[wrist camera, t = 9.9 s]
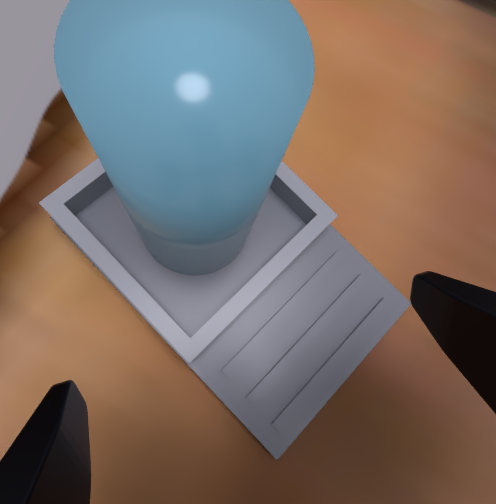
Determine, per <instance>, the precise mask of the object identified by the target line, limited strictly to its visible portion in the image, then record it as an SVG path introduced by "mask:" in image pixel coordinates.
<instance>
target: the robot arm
mask: <svg viewBox="0 0 496 504" xmlns="http://www.w3.org/2000/svg"><path fill="white" fill-rule="evenodd" d="M410 300H411V304H412V306H413V308H414V309H415V311H416V312H417V314H418V315H419V317H420V318H421V319H422V321H423V322H424V324H425V325H426V327H427V328H428V330H429V331H430V333H431V334H432V336H433V337H434V339H435V340H436V342H437V343H438V344H439V346H440V347H441V349H442V350H443V351H444V353H445V354H446V355H447V356H448V358H449V359H450V360H451V361H452V362H453V364H454V365H455V366H456V367H457V368H458V370H459V371H460V372H461V373H462V374H463V376H464V377H465V378H466V379H467V380H468V382H469V383H470V384H471V385H472V386H473V387H474V389H475V390H476V391H477V392H478V393H479V395H480V396H481V397H482V398H483V399H484V401H485V402H486V403H487V404H488V405H489V407H490V408H491V409H492V410H493V411H494V413H495V414H496V292H494V291H491V290H488V289H484V288H481V287H478V286H475V285H472V284H469V283H466V282H462V281H459V280H456V279H453V278H450V277H447V276H444V275H441V274H437V273H434V272H431V271H426V272H423V273H419V274H416V275H415V276H414V278H413V281H412V288H411V295H410ZM90 491H91V461H90V445H89V428H88V412H87V406H86V402H85V400H84V398H83V397H82V395H81V393H80V391H79V390H78V388H77V386H76V384H75V383H74V382H73V381H72V380H68V381H64V382H61V383H58V384H55V385H53V386H52V387H51V388H50V390H49V391H48V393H47V394H46V395H45V397H44V398H43V400H42V401H41V403H40V404H39V406H38V407H37V409H36V410H35V411H34V413H33V414H32V416H31V417H30V419H29V420H28V422H27V423H26V425H25V426H24V427H23V429H22V430H21V432H20V433H19V435H18V436H17V438H16V439H15V441H14V442H13V443H12V445H11V446H10V448H9V449H8V451H7V452H6V454H5V455H4V457H3V458H2V459H1V461H0V504H90Z"/></svg>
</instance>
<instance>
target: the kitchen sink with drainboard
mask: <svg viewBox="0 0 496 504" xmlns="http://www.w3.org/2000/svg"><path fill="white" fill-rule="evenodd" d="M39 203H40V205H41V206H42V207H43V208H44V209H45V210H46V211H47V212H48V213H49V214H50V215H51V217H50V218H51V219H52V220H53V221H54V222H55V224H56V225H57V226H58V227H59V228H60V229H61V230H62V231H63V232H64V233H65V234H66V235H67V236H68V237H69V238H70V240H71V241H72V242H73V243H74V244H75V245H76V246H77V247H78V248H79V249H80V250H81V251H82V252H83V253H84V255H85V256H86V257H87V258H88V259H89V260H90V261H91V262H92V263H93V264H94V265H95V266H96V267H97V268H98V269H99V271H100V272H101V273H102V274H103V275H104V276H105V277H106V278H107V279H108V280H109V281H110V282H111V283H112V284H113V285H114V287H115V288H116V289H117V290H118V291H119V292H120V293H121V294H122V295H123V296H124V297H125V298H126V299H127V300H128V302H129V303H130V304H131V305H132V306H133V307H134V308H135V309H136V310H137V311H138V312H139V313H140V314H141V315H142V316H143V318H144V319H145V320H146V321H147V322H148V323H149V324H150V325H151V326H152V327H153V328H154V329H155V330H156V331H157V333H158V334H159V335H160V336H161V337H162V338H163V339H164V340H165V341H166V342H167V343H168V344H169V345H170V346H171V347H172V349H173V350H174V351H175V352H176V353H177V354H178V355H179V356H180V357H181V358H182V359H183V360H184V361H185V362H186V363H187V365H188V366H189V367H190V368H191V369H192V370H193V371H194V372H195V373H196V374H197V375H198V376H199V377H200V378H201V380H202V381H203V382H204V383H205V384H206V385H207V386H208V387H209V388H210V389H211V390H212V391H213V392H214V393H215V394H216V396H217V397H218V398H219V399H220V400H221V401H222V402H223V403H224V404H225V405H226V406H227V407H228V408H229V409H230V410H231V412H232V413H233V414H234V415H235V416H236V417H237V418H238V419H239V420H240V421H241V422H242V423H243V424H244V425H245V427H246V428H247V429H248V430H249V431H250V432H251V433H252V434H253V435H254V436H255V437H256V438H257V439H258V440H259V441H260V443H261V444H262V445H263V446H264V447H265V448H266V449H267V450H268V451H269V452H270V453H271V454H272V455H273V456H274V458H275V459H276V460H278V459H279V458H280V456H281V455H282V454H283V453H284V452H285V451H286V449H287V448H288V447H289V446H290V445H291V444H292V442H293V441H294V440H295V439H296V438H297V437H298V435H299V434H300V433H301V432H302V431H303V430H304V428H305V427H306V426H307V425H308V424H309V423H310V421H311V420H312V419H313V418H314V417H315V415H316V414H317V413H318V412H319V411H320V410H321V408H322V407H323V406H324V405H325V404H326V403H327V401H328V400H329V399H330V398H331V397H332V396H333V394H334V393H335V392H336V391H337V390H338V389H339V387H340V386H341V385H342V384H343V383H344V382H345V380H346V379H347V378H348V377H349V376H350V375H351V373H352V372H353V371H354V370H355V369H356V367H357V366H358V365H359V364H360V363H361V362H362V360H363V359H364V358H365V357H366V356H367V355H368V353H369V352H370V351H371V350H372V349H373V348H374V346H375V345H376V344H377V343H378V342H379V341H380V339H381V338H382V337H383V336H384V335H385V334H386V332H387V331H388V330H389V329H390V328H391V326H392V325H393V324H394V323H395V322H396V321H397V319H398V318H399V317H400V316H401V315H402V314H403V312H404V311H405V310H406V309H407V308H408V307H409V305H410V304H411V303H410V302H409V301H408V300H407V299H406V298H405V297H404V296H403V295H402V294H401V293H400V292H399V291H398V290H397V289H396V288H395V287H394V286H393V285H392V284H391V283H390V282H389V281H388V280H387V279H386V278H385V277H384V276H383V275H382V274H381V273H380V272H379V271H377V270H376V269H375V268H374V267H373V266H372V265H371V264H370V263H369V262H368V261H367V260H366V259H365V258H364V257H363V256H362V255H361V254H360V253H359V252H358V251H357V250H356V249H355V248H354V247H353V246H352V245H351V244H350V243H349V242H348V241H347V240H346V239H345V238H344V237H343V236H342V235H341V234H340V233H339V232H338V231H337V230H336V229H334V228H333V227H332V226H331V225H330V223H331V222H332V221H333V220H334V219H335V218H336V217H337V216H338V215H337V214H336V213H335V212H334V211H333V210H332V209H331V208H330V207H329V206H328V205H327V204H326V203H325V202H324V201H322V200H321V199H320V198H319V197H318V196H317V195H316V194H315V193H314V192H313V191H312V190H311V189H310V188H309V187H308V186H307V185H306V184H305V183H304V182H303V181H302V180H301V179H300V178H299V177H298V176H297V175H296V174H295V173H294V172H293V171H292V170H291V169H290V168H289V167H287V166H286V165H285V164H284V163H283V162H282V161H281V163H280V165H279V167H278V169H277V172H276V174H275V176H274V179H273V181H272V183H271V185H270V188H269V190H268V192H267V195H266V197H265V199H264V201H263V204H262V206H261V208H260V211H259V213H258V215H257V217H256V220H255V222H254V224H253V227H252V229H251V231H250V233H249V236H248V238H247V240H246V242H245V245H244V247H243V249H242V250H241V252H240V253H239V254H238V256H237V257H236V258H235V259H234V260H233V261H232V262H231V263H229V264H228V265H227V266H225V267H223V268H222V269H220V270H218V271H215V272H212V273H208V274H204V275H186V274H181V273H177V272H174V271H172V270H170V269H168V268H166V267H164V266H163V265H161V264H160V263H159V262H157V261H156V260H155V259H154V258H153V257H152V256H151V254H150V253H149V252H148V250H147V249H146V247H145V245H144V243H143V241H142V239H141V237H140V235H139V234H138V232H137V230H136V228H135V226H134V224H133V222H132V220H131V219H130V217H129V215H128V213H127V211H126V209H125V207H124V205H123V203H122V202H121V200H120V198H119V196H118V194H117V192H116V190H115V188H114V187H113V185H112V183H111V181H110V179H109V177H108V175H107V173H106V171H105V170H104V168H103V166H102V164H101V162H100V160H99V158H98V159H96V160H95V161H94V162H92V163H91V164H90V165H88V166H87V167H86V168H84V169H83V170H82V171H80V172H79V173H78V174H76V175H75V176H74V177H72V178H71V179H70V180H68V181H67V182H66V183H64V184H63V185H62V186H60V187H59V188H58V189H56V190H55V191H54V192H53V193H51V194H50V195H49V196H47V197H46V198H45V199H43V200H42V201H41V202H39Z"/></svg>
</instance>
